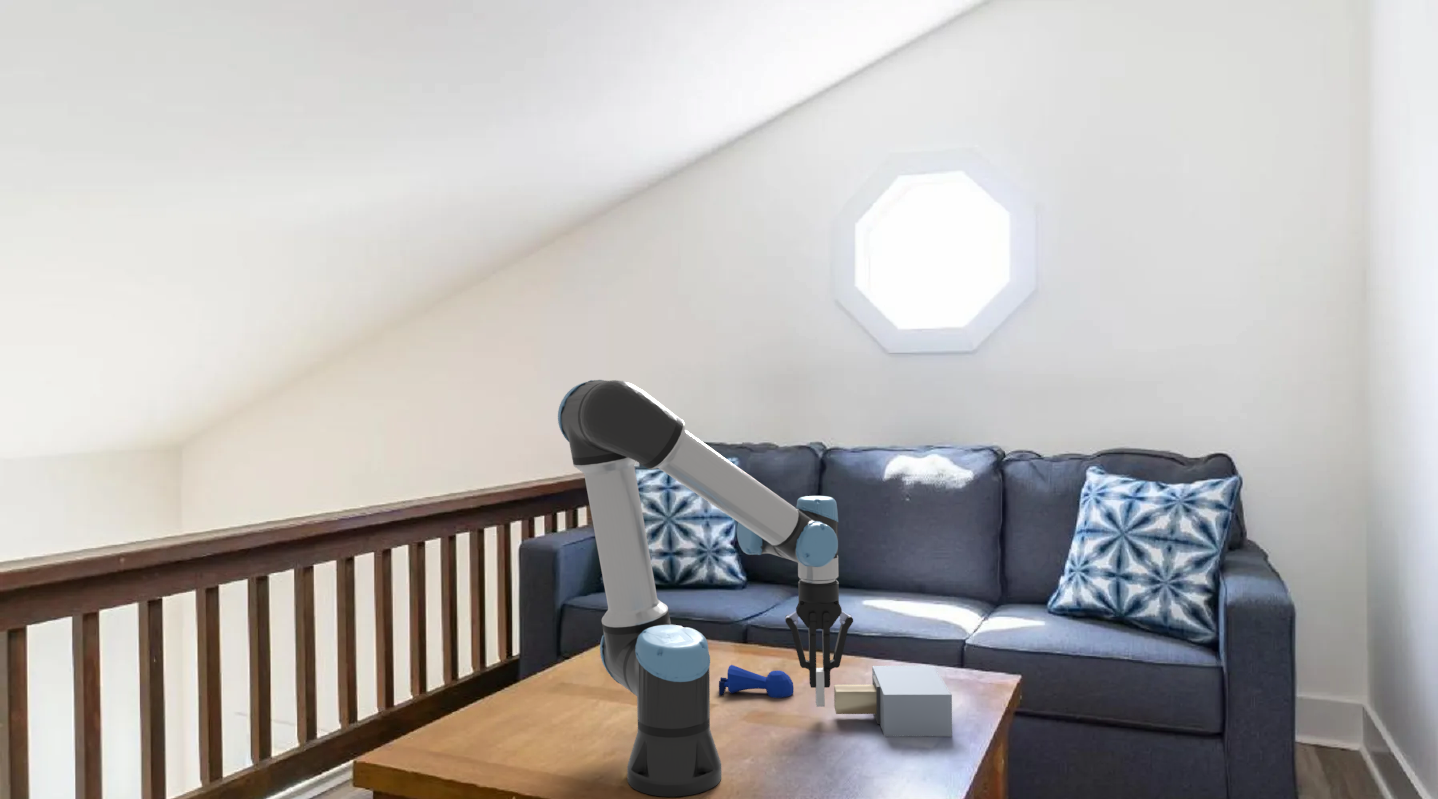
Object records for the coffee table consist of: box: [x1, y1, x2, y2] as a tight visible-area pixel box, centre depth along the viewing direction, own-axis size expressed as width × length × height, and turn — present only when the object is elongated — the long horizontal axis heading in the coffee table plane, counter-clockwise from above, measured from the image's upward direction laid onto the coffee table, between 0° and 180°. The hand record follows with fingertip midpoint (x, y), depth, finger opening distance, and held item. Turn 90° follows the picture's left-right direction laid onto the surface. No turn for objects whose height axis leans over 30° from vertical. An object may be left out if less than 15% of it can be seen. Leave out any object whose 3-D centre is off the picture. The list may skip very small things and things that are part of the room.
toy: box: [718, 664, 795, 699], centre depth 206 cm, size 7×6×15 cm
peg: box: [833, 684, 877, 715], centre depth 189 cm, size 4×16×4 cm, turn 88°
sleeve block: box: [871, 665, 953, 737], centre depth 189 cm, size 18×13×8 cm
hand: (820, 704), depth 190 cm, fingers closed
